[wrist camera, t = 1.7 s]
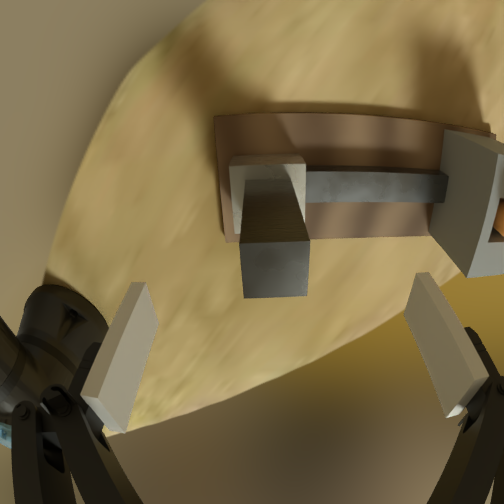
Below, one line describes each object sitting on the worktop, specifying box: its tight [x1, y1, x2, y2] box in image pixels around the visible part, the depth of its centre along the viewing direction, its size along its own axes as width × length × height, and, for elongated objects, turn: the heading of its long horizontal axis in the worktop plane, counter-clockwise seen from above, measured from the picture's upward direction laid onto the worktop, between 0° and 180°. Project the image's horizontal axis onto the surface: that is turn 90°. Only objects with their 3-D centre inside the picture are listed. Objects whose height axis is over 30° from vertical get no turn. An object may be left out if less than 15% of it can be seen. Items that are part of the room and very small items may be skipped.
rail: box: [305, 165, 449, 203], centre depth 28 cm, size 22×3×2 cm, turn 93°
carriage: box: [229, 154, 310, 298], centre depth 23 cm, size 6×6×14 cm
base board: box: [214, 112, 496, 242], centre depth 29 cm, size 31×13×1 cm, turn 93°
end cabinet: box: [428, 129, 504, 278], centre depth 25 cm, size 7×12×9 cm, turn 3°
